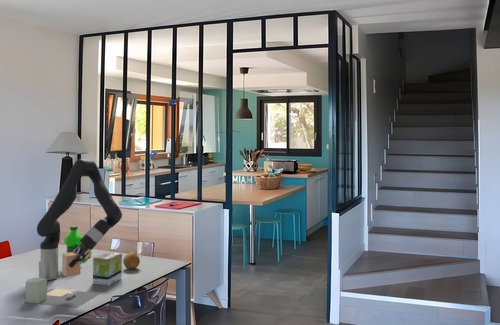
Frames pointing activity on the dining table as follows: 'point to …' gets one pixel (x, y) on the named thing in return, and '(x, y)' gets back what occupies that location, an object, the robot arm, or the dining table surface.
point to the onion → (131, 260)
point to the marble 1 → (69, 295)
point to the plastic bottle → (73, 239)
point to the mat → (60, 299)
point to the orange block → (66, 260)
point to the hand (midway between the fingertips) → (68, 264)
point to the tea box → (107, 268)
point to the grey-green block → (36, 290)
